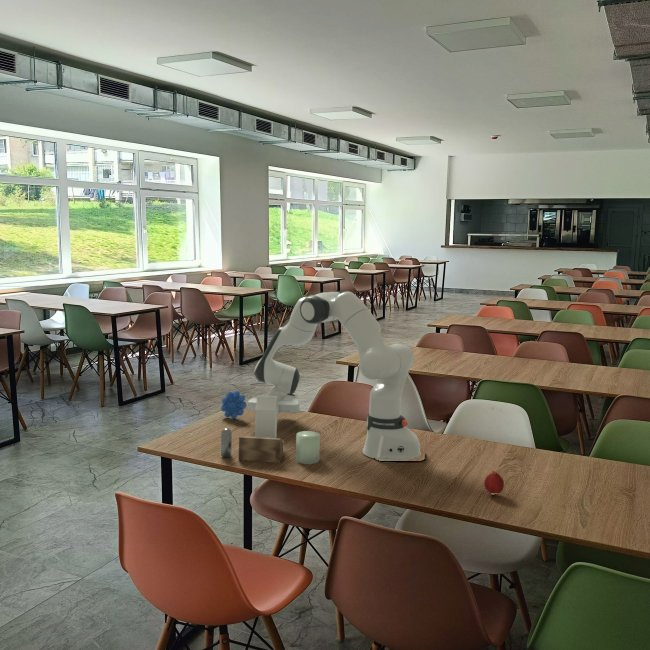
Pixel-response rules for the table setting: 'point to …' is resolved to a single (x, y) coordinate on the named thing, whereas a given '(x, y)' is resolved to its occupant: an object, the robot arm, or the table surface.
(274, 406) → the milk carton
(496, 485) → the onion
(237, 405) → the grapes
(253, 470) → the table surface
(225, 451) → the grey shaker
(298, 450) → the sage mug
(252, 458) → the walnut holder
